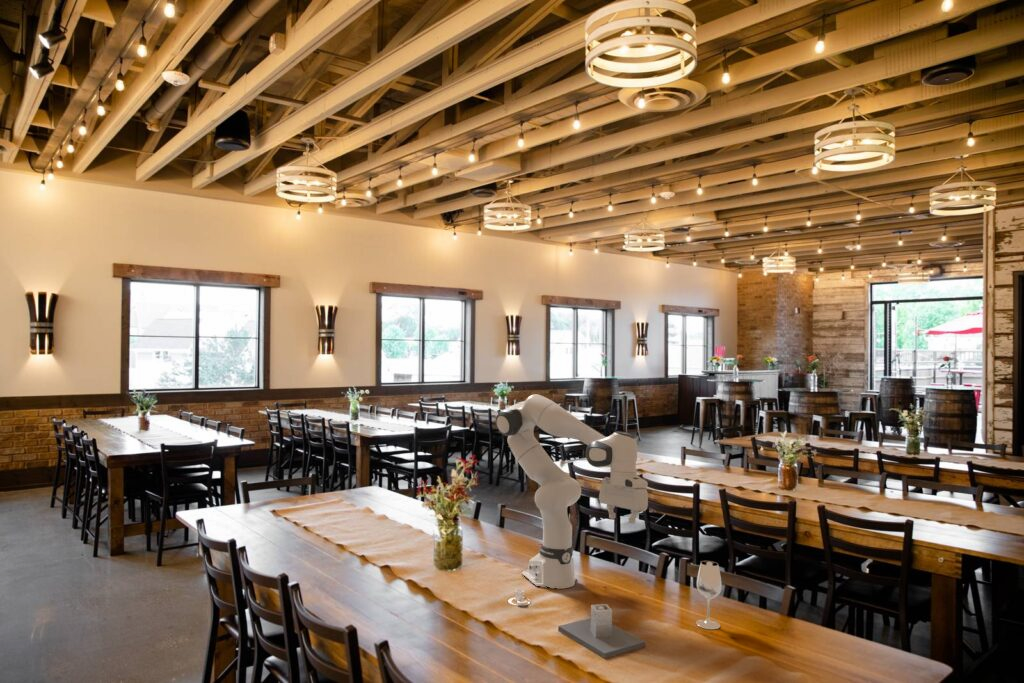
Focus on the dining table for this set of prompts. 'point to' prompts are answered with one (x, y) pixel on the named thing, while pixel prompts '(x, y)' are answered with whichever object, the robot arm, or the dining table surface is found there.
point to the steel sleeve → (601, 621)
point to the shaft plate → (601, 638)
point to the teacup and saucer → (518, 598)
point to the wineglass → (708, 589)
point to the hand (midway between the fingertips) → (621, 520)
